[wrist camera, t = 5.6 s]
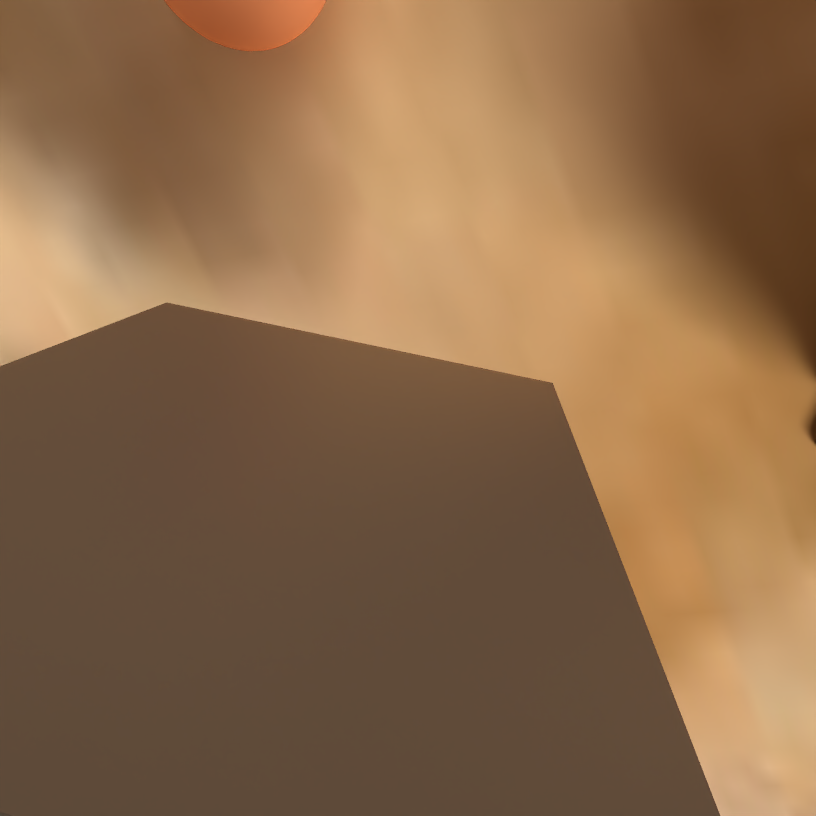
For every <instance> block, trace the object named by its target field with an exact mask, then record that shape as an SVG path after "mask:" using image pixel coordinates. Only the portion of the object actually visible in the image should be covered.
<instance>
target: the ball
mask: <svg viewBox="0 0 816 816" xmlns="http://www.w3.org/2000/svg"><path fill="white" fill-rule="evenodd" d="M164 1H165V2H166V3H167V5H168V6H169V7H170V8H171V10H172V11H173V12H174V13H175V14H176V15H177V16H178V17H179V18H180V19H181V20H182V21H183V22H184V23H186V24H187V25H188V26H189V27H191V28H192V29H193V30H195V31H196V32H197V33H199V34H200V35H202V36H204V37H205V38H207V39H209V40H211V41H213V42H215V43H218V44H220V45H222V46H225V47H229V48H232V49H236V50H243V51H262V50H268V49H273V48H277V47H279V46H282V45H284V44H286V43H288V42H290V41H292V40H293V39H295V38H296V37H298V36H299V35H300V34H301V33H303V32H304V31H305V30H306V29H307V28H308V27H309V26H310V25H311V24H312V23H313V21H314V20H315V18H316V17H317V16H318V14H319V13H320V11H321V9H322V8H323V6H324V4H325V2H326V0H164Z"/></svg>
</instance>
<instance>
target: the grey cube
mask: <svg viewBox="0 0 816 816" xmlns="http://www.w3.org/2000/svg"><path fill="white" fill-rule="evenodd" d="M0 816H720V814H719V811H718V809H717V806H716V804H715V801H714V799H713V796H712V793H711V791H710V788H709V786H708V783H707V780H706V778H705V775H704V773H703V770H702V768H701V765H700V762H699V760H698V757H697V755H696V752H695V749H694V747H693V744H692V742H691V739H690V737H689V734H688V731H687V729H686V726H685V724H684V721H683V718H682V716H681V713H680V711H679V708H678V706H677V703H676V700H675V698H674V695H673V693H672V690H671V688H670V685H669V682H668V680H667V677H666V675H665V672H664V669H663V667H662V664H661V662H660V659H659V657H658V654H657V651H656V649H655V646H654V644H653V641H652V638H651V636H650V633H649V631H648V628H647V626H646V623H645V620H644V618H643V615H642V613H641V610H640V607H639V605H638V602H637V600H636V597H635V595H634V592H633V589H632V587H631V584H630V582H629V579H628V576H627V574H626V571H625V569H624V566H623V564H622V561H621V558H620V556H619V553H618V551H617V548H616V545H615V543H614V540H613V538H612V535H611V533H610V530H609V527H608V525H607V522H606V520H605V517H604V515H603V512H602V509H601V507H600V504H599V502H598V499H597V496H596V494H595V491H594V489H593V486H592V484H591V481H590V478H589V476H588V473H587V471H586V468H585V465H584V463H583V460H582V458H581V455H580V453H579V450H578V447H577V445H576V442H575V440H574V437H573V434H572V432H571V429H570V427H569V424H568V422H567V419H566V416H565V414H564V411H563V409H562V406H561V403H560V401H559V398H558V396H557V393H556V391H555V388H554V385H553V383H550V382H545V381H540V380H535V379H531V378H526V377H521V376H516V375H511V374H507V373H502V372H497V371H492V370H487V369H483V368H478V367H473V366H468V365H463V364H459V363H454V362H449V361H444V360H439V359H435V358H430V357H425V356H420V355H415V354H411V353H406V352H401V351H396V350H391V349H387V348H382V347H377V346H372V345H367V344H363V343H358V342H353V341H348V340H343V339H339V338H334V337H329V336H324V335H319V334H315V333H310V332H305V331H300V330H295V329H291V328H286V327H281V326H276V325H271V324H267V323H262V322H257V321H252V320H247V319H243V318H238V317H233V316H228V315H223V314H219V313H214V312H209V311H204V310H199V309H195V308H190V307H185V306H180V305H175V304H171V303H164V304H162V305H159V306H156V307H154V308H151V309H149V310H146V311H143V312H141V313H138V314H136V315H133V316H130V317H128V318H125V319H123V320H120V321H117V322H115V323H112V324H110V325H107V326H104V327H102V328H99V329H97V330H94V331H91V332H89V333H86V334H84V335H81V336H78V337H76V338H73V339H71V340H68V341H65V342H63V343H60V344H58V345H55V346H52V347H50V348H47V349H45V350H42V351H39V352H37V353H34V354H31V355H29V356H26V357H24V358H21V359H18V360H16V361H13V362H11V363H8V364H5V365H3V366H0Z"/></svg>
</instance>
